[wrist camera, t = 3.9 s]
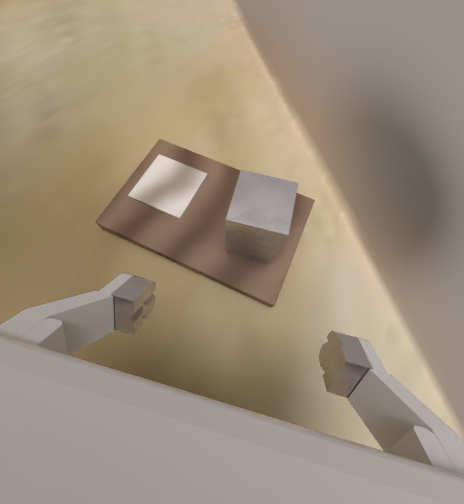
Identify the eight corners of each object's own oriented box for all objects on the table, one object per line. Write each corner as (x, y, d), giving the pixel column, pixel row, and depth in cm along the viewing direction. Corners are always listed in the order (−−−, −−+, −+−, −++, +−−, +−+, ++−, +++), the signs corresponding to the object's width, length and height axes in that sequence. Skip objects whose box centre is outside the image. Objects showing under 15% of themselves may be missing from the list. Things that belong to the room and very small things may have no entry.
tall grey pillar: (225, 252, 24) (225, 219, 17) (236, 213, 26) (241, 169, 18) (269, 263, 24) (288, 235, 16) (277, 224, 25) (298, 183, 18)
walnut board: (102, 228, 26) (56, 190, 19) (162, 147, 30) (144, 92, 23) (271, 306, 23) (291, 297, 16) (310, 206, 28) (339, 165, 21)
